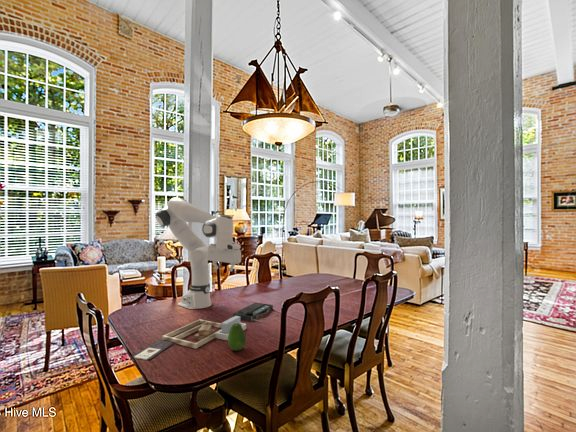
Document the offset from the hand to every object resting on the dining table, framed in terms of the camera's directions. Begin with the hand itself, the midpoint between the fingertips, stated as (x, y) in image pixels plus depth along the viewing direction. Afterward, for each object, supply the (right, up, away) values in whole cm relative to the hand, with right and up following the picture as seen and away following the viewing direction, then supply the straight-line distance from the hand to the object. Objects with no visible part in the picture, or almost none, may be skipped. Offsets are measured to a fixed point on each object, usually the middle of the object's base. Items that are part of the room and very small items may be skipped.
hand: (223, 270), depth 167 cm
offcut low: (-6, -31, -15) cm, 35 cm away
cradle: (+6, -30, -10) cm, 32 cm away
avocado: (+12, -31, -30) cm, 45 cm away
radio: (+17, -31, +19) cm, 40 cm away
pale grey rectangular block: (+6, -30, -10) cm, 33 cm away
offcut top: (-6, -28, -15) cm, 32 cm away
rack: (-10, -30, -12) cm, 34 cm away
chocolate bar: (-24, -31, -30) cm, 49 cm away
